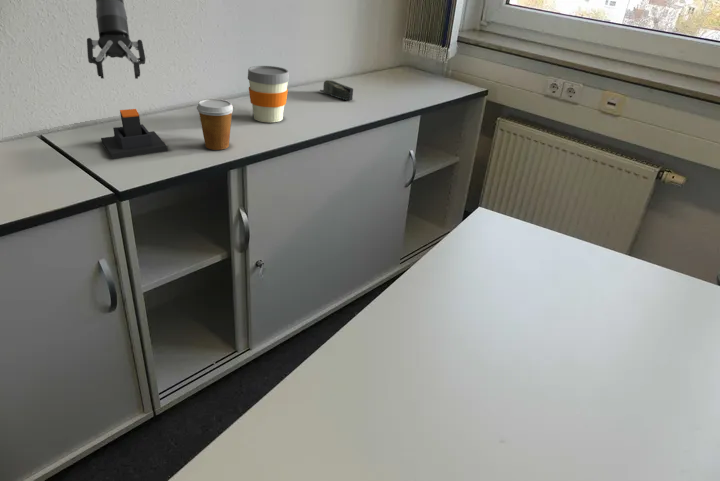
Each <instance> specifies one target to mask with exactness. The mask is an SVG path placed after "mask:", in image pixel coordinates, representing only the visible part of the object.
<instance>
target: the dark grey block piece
mask: <svg viewBox="0 0 720 481" xmlns="http://www.w3.org/2000/svg"><path fill="white" fill-rule="evenodd" d="M319 92H321V93H324V94H327V95H329V96H333V97H335V98H337V99H340V100H342V101H348V102H349V101H353V96H354V88H353V87H351V86H348V85H345V84H343V83H341V82H337V81H335V80H331V79H327V80H324V81H323V89H320V90H319Z"/></svg>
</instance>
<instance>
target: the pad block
mask: <svg viewBox="0 0 720 481" xmlns="http://www.w3.org/2000/svg"><path fill="white" fill-rule="evenodd" d="M119 114H120V120H121V127H123V133H124V137H128V136H136V135H142V131H141V118H140V114H139V112H138V110H137V108H129V109H120V110H119Z"/></svg>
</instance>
